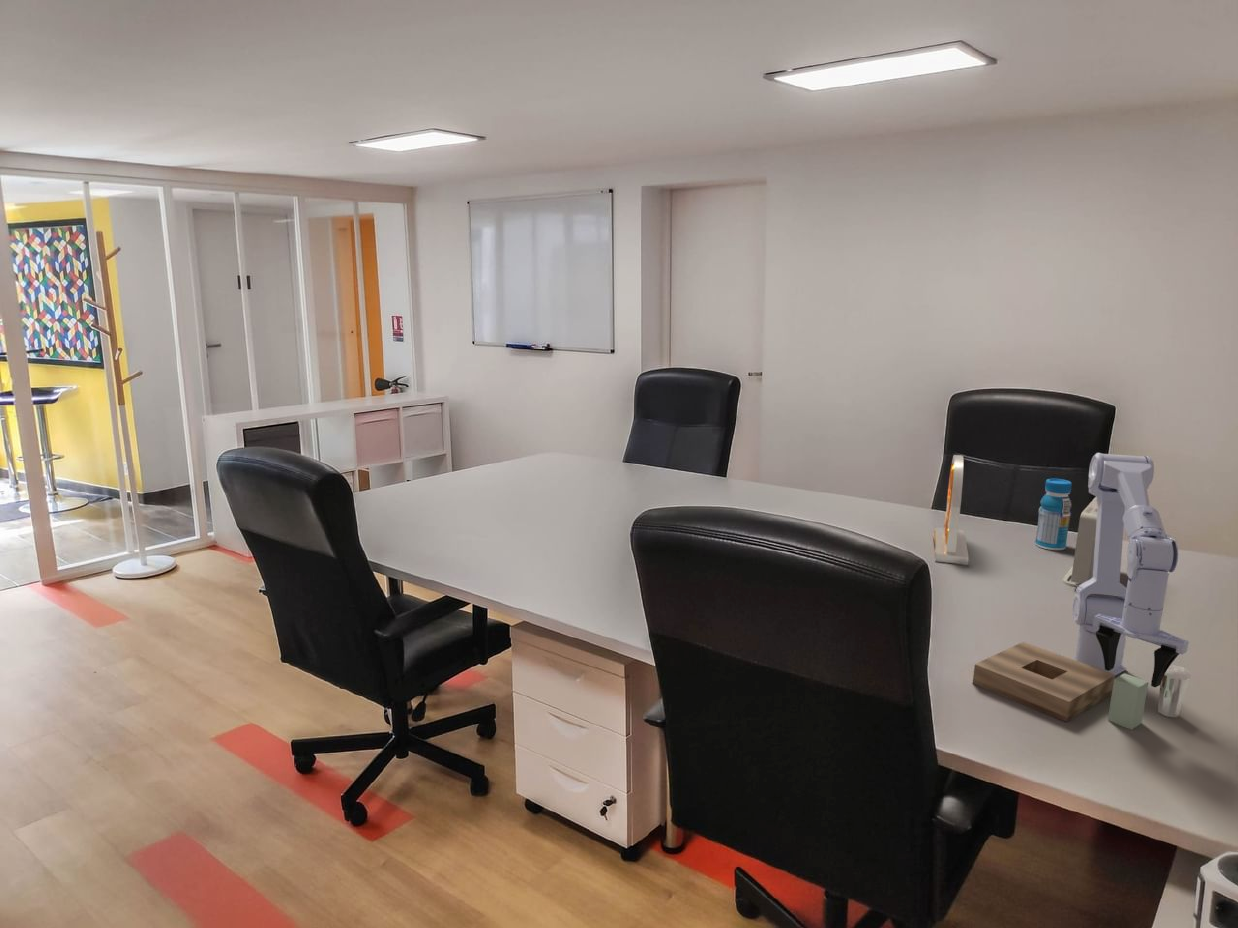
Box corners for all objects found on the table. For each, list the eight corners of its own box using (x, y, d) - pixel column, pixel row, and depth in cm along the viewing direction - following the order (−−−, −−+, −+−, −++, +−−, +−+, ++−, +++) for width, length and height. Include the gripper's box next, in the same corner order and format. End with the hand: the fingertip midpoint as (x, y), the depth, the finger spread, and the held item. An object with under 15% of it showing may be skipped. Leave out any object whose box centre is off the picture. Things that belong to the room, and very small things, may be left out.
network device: (1096, 595, 213) (1107, 518, 209) (1057, 587, 218) (1068, 512, 214) (1111, 569, 233) (1122, 498, 229) (1076, 562, 238) (1086, 493, 234)
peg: (1117, 713, 155) (1124, 673, 153) (1141, 722, 152) (1148, 681, 150) (1107, 720, 152) (1114, 679, 151) (1131, 729, 149) (1138, 687, 148)
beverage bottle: (1036, 549, 249) (1045, 482, 245) (1032, 541, 257) (1040, 476, 252) (1068, 552, 247) (1078, 485, 242) (1063, 544, 254) (1072, 479, 250)
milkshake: (1169, 704, 158) (1177, 655, 156) (1188, 719, 153) (1198, 668, 151) (1145, 704, 158) (1153, 655, 156) (1164, 719, 153) (1172, 668, 151)
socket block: (1020, 659, 176) (1023, 641, 175) (1112, 694, 162) (1115, 674, 161) (972, 683, 165) (974, 664, 165) (1066, 722, 151) (1069, 701, 151)
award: (932, 533, 262) (941, 445, 256) (963, 537, 260) (973, 448, 254) (933, 561, 237) (943, 464, 231) (967, 565, 234) (978, 467, 228)
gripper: (1089, 596, 151) (1079, 667, 153) (1181, 623, 139) (1167, 699, 142) (1107, 588, 155) (1097, 657, 158) (1198, 613, 143) (1185, 688, 146)
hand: (1132, 676), depth 150 cm, fingers open, 7 cm apart
